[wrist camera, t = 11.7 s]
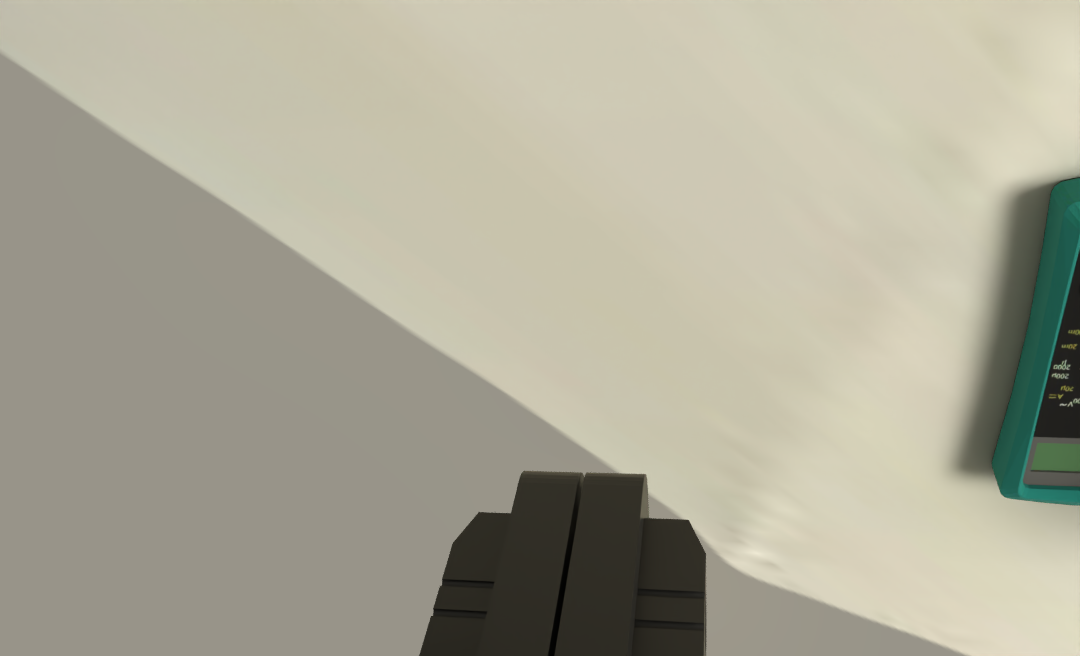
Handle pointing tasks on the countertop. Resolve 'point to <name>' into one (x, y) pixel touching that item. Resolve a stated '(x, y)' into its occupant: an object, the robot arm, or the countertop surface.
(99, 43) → the countertop surface
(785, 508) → the countertop surface
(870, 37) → the countertop surface
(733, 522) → the countertop surface
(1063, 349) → the digital multimeter
